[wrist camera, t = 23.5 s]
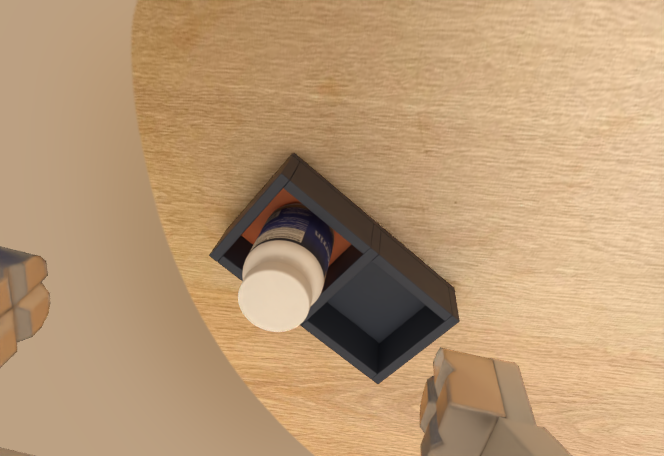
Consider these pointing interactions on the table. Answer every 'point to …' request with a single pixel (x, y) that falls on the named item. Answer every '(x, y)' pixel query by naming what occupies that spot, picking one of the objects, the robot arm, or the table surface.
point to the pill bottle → (285, 269)
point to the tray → (352, 276)
